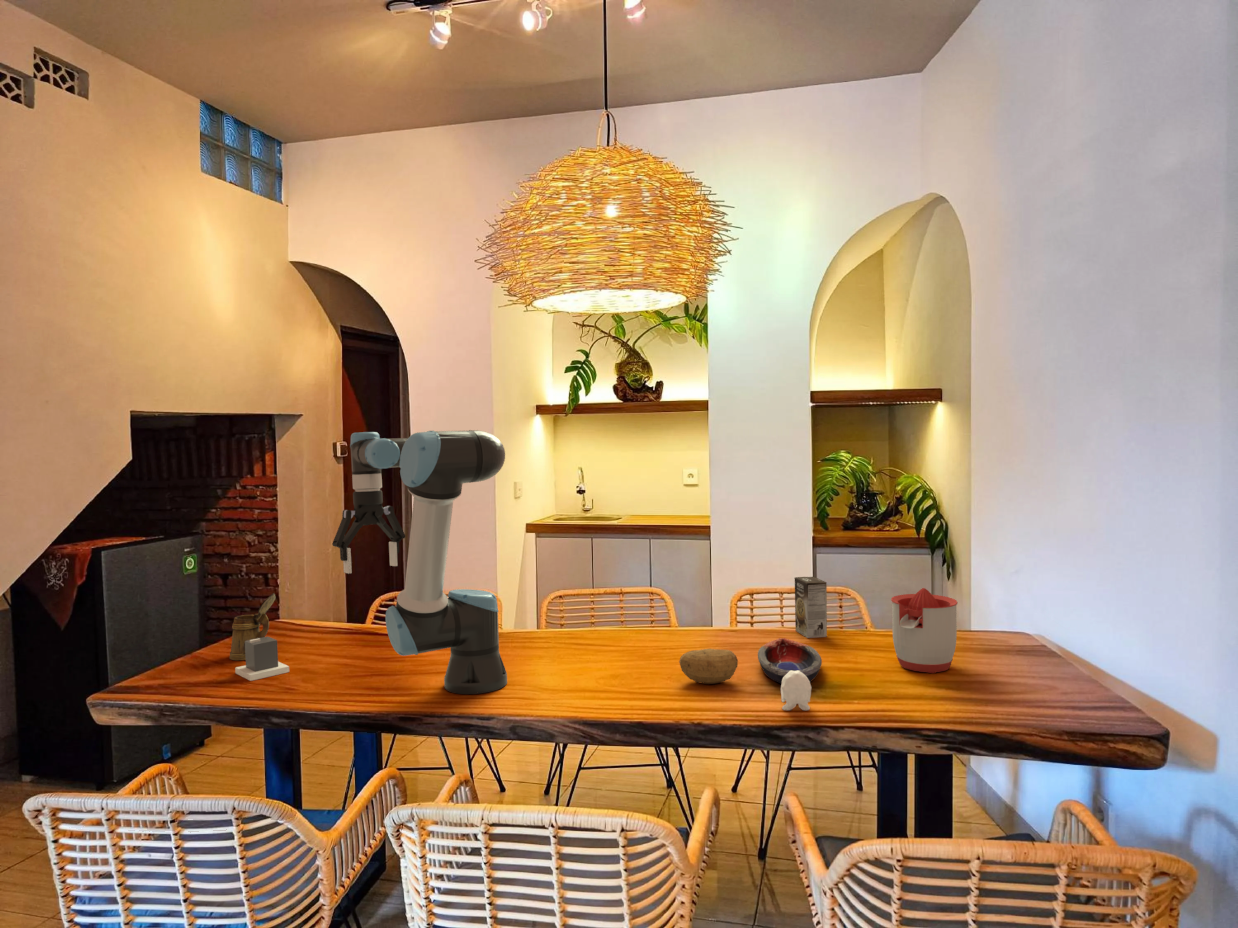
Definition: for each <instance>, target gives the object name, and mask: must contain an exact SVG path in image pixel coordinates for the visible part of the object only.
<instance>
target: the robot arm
mask: <svg viewBox="0 0 1238 928" xmlns="http://www.w3.org/2000/svg"><path fill="white" fill-rule="evenodd" d="M380 436H381V435H380V434H379V433H378V432H377V431H363V432H353V433H351V435H350V444H349V448H350V458H351V475H352V476H351V477H352V478H351V479H352V480H351V481H352V489H353V490H354V491H353V492H352V501H353V502H352V504H353V510H350V509H349V510H348V509H344V510H342V517H341V521H340V523H339V526H338V528H337V531H336V533H335V537H334V539H333V540H332V544H331V545H332V547H334V548H338V549H339V555H340V561H342V562H343V573H345V574H352V572H353V571H352V553H351V549H352V548H350V547H349V545H350V544H351V543H352V541H353V540H354V538H355V537H356V536H357V533H358V532H359V531H360V529H361V528H362V527H364V526H370V525H377V526H378V527H379V528H380V529H381V530H382V532H383V533H384V534H385V535H386V536H387V537H388V538H389V539H390V540H391V541H389V542H388V553H389V554H388V555H389V566H390V567H391V566H392V567H398V554H399V553H400V542H402V540H403V539H405V538H406V534H405V531H404V530H403V528H402V526H401V525H400V522H399V520H398V518H397V516H396V515H395V509H394V506H393V505H386V506H384V507H383V503H384V501H383V497H384V496H383V491H382V488H383V479H382V470H383V469H391V468H400V470H399V473H400V474H399V475H400V479H401V481H402V483H403V484H404V486H407V492H409V493H410V494H411V496H412V497H413V503H412V512H411V523H410V533H409V544H408V550H407V551H408V552H407V564H406V575H405V584H404V589H402V590H401V591H399V593H398V594H397V597H396V605H391V606H389V607H388V608H387V609H386V611H385V616H384V617H385V626H386V632H387V635H388V638H389V641H390V644H391V646H392V648H393V650H394V651H395V652H396V653H397V654H398V655H400V656H403V657H404V656H411V655H412V656H413V655H415V656H416V655H417V656H418V654H423V653H429V652H430V653H431V652H435V651H439V650H445V649H450V657H449V661H448V663H447V668H446V671H445V675H444V677H443V678H444V681H443V683H444V689H445V690H446V691H447V692H449V693H454V694H459V695H479V694H486V693H491V692H494V691H497V690H499V689H502V688H504V687H506V685H507V684H508V673H507V670H506V667H505V665H504V662H503V660H502V657H501V654H500V641H499V639H500V637H499V607H498V600H497V599H498V598H497V596H496V595H495V594H494V593H493V592H490V591H486V590H480V589H471V588H470V589H469V588H468V589H467V588H460V589H459V588H458V589H452V590H449V592H448V594H446V593H444V592H443V591H444V584H445V575H446V567H447V559H448V557H447V556H448V549H449V539H450V532H451V526H452V525H451V524H452V514H453V505H454V501H455V500H456V499H458V498H459V497H460V496H461V495H462V489H463V484H468V483H479V482H483V481H487V480H490V479H491V478H492V477H495V476H496V475H497V474H498V473H499V472H500V471H501V470H502V468H503V466H504V464H505V461H506V451H505V447H504V445H503V442H502V441H501V440H500V439H499V438H498V437H497V436H496V435H494V434H493V433H491V432H487V431H484V430H478V429H477V430H475V429H474V430H471V429H469V430H439V431H438V430H437V431H435V430H428V431H421V432H415V433H412V434H411V435H410V436H409V437H404V438H403V437H402V438H401V437H397V438H386V437H384V438H382V437H380ZM383 514H384V515H385V516H386V518H387V520H388V522H389V524H390V525H388V523H387V521H386V520H385V518H383ZM353 517H354V518H355V519H354V520H353V522H352V524H351V521H352V518H353ZM350 524H351V527H350V528H349V526H350ZM348 528H349V529H348Z"/></svg>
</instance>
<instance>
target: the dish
mask: <svg viewBox="0 0 1238 928" xmlns="http://www.w3.org/2000/svg"><path fill="white" fill-rule="evenodd" d="M757 660H758V662H759V665H760V668H761V670H762V671H763V672H764V674H765V675H766V676H767V677H768V678H769V679H771V680H773V681H775V682H777V683H779V684H782V679H783V677H784V676H785V675H786V674H787V673H788V672H789V671H791V670H792V671H797V670H799V671H800V672H802V673H803V674H804V675H806V677H807V678H808V680H809V681H810V682H812V681H813V680H814V679H815V678H816V677H817V676H818V674H819V672H820V670H821V667H822V663H823V662H822V660H823V659H822V657H821V655H820V654H819V652H818V650H817V649H815V648H814V647H812V646H810V645H808V644H805V643H802V642H798V641H796V640H792V639H789V638H785V637H784V638H783V637H782V638H781V637H779V638H777V639H774V640H771V641H769V642H766V643H765V644H763V645H762V646H761V647H760V648H759V649H758V651H757Z"/></svg>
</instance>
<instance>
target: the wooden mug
mask: <svg viewBox="0 0 1238 928" xmlns="http://www.w3.org/2000/svg"><path fill="white" fill-rule="evenodd" d="M276 597H277V596H276V594H275V592H273V593H272V594H270V595H269V596H268V597H267V598H266V599H264V601H263V602H262V604H261V605H260V606H259V608H258V611H257V612H258V613H255V614H241V615H237V616H235V617H234V618H233V623H232V626H231V629H232V636H231V637H232V639H231V644H230V645H231V648H230V651H229V660H231V661H246V656H245V641H247V640H252V639H257V638H263V637H267V634H268V631H269V628H270V622H269V620H270V619H269V618H268V616H267V614H266V613H267V612H268V611H269V609H270V608H271V607H272V605H273V604H274V602H275V601H276ZM261 625H262V629H260V627H261Z"/></svg>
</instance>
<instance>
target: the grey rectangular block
mask: <svg viewBox="0 0 1238 928" xmlns="http://www.w3.org/2000/svg"><path fill="white" fill-rule="evenodd" d="M278 653H279V652H278V640H277V639H276V638H273V637H271V636H265V637H263V638H257V639H252V640H247V641H245V656H246V660H245V665H246V668H248V669H250V670H252V671H254V672H256V671H261V670H265V669H270V668H274V667H278V662H279V657H278V656H279V654H278Z"/></svg>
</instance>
